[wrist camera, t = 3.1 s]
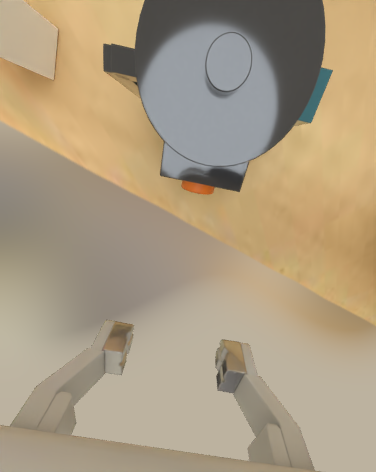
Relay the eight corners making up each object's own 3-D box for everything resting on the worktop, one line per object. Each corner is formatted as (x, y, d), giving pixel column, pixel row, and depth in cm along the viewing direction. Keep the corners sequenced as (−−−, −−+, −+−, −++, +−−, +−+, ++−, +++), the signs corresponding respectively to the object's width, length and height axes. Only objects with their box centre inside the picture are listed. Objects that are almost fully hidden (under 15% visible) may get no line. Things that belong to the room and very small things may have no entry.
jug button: (212, 189, 22) (214, 196, 19) (182, 183, 21) (179, 189, 18) (215, 175, 21) (218, 181, 18) (184, 169, 21) (182, 174, 18)
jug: (238, 171, 32) (290, 209, 14) (146, 152, 32) (77, 166, 14) (267, 74, 26) (418, -75, 8) (155, 48, 26) (55, -174, 8)
